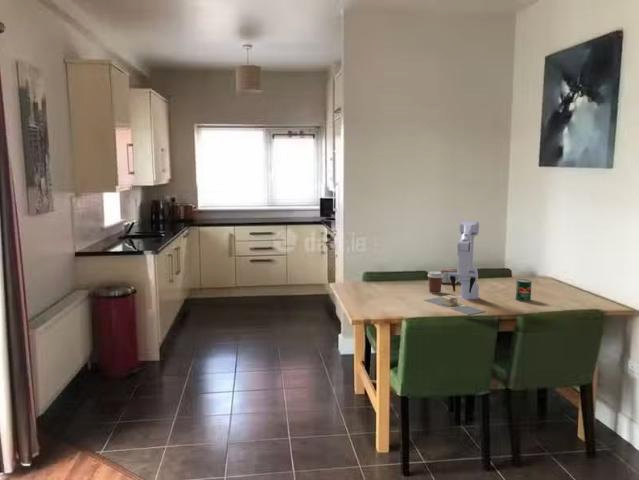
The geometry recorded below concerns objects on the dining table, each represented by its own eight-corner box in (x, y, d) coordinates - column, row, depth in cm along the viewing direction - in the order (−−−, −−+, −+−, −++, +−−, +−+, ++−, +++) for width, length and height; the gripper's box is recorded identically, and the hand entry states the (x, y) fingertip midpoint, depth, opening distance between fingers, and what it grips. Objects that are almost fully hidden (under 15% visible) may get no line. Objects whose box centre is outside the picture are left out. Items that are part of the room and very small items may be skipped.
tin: (461, 282, 343) (461, 269, 342) (462, 283, 340) (462, 270, 338) (437, 282, 342) (438, 269, 341) (438, 283, 339) (439, 270, 338)
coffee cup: (443, 294, 310) (443, 274, 308) (427, 293, 312) (427, 273, 310) (442, 291, 319) (443, 271, 317) (427, 290, 321) (427, 270, 319)
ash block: (449, 302, 290) (449, 295, 290) (457, 304, 285) (457, 297, 284) (440, 303, 287) (441, 296, 287) (448, 306, 282) (449, 298, 282)
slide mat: (439, 298, 301) (439, 297, 301) (485, 312, 272) (485, 311, 272) (422, 300, 295) (422, 300, 295) (468, 315, 266) (468, 314, 266)
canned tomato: (521, 302, 292) (522, 282, 291) (512, 298, 300) (513, 279, 299) (533, 301, 295) (534, 281, 293) (524, 297, 302) (525, 278, 301)
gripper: (447, 264, 269) (446, 291, 269) (477, 266, 264) (476, 293, 264) (449, 264, 276) (448, 290, 276) (478, 266, 271) (477, 292, 271)
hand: (462, 292), depth 270 cm, fingers open, 7 cm apart
